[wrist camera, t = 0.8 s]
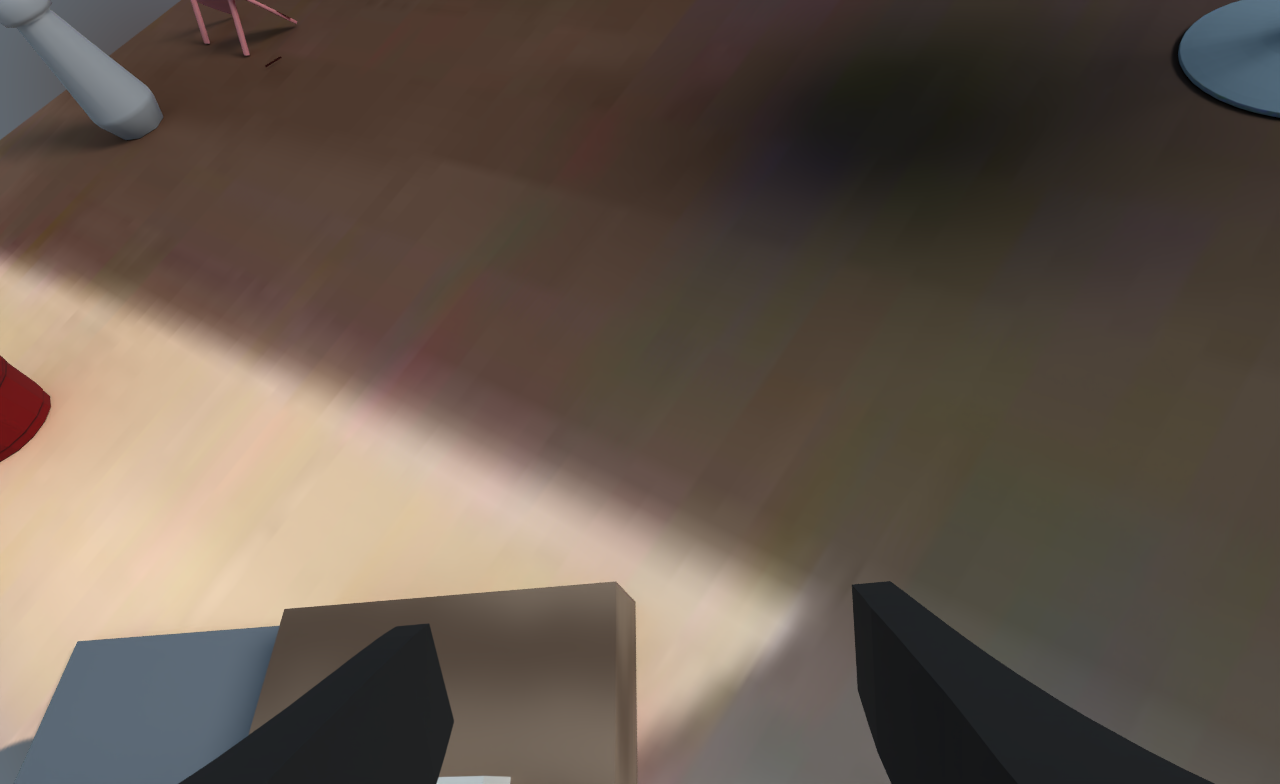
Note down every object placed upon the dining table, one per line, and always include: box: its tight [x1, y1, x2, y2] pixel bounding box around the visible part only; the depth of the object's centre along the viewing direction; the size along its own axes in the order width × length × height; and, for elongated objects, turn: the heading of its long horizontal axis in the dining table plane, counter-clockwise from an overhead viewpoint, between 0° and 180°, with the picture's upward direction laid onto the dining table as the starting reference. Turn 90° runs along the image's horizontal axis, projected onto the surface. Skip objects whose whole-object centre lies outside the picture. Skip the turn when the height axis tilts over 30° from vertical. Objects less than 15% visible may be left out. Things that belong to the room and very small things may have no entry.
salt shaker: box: [0, 0, 163, 140], centre depth 55 cm, size 6×6×13 cm
